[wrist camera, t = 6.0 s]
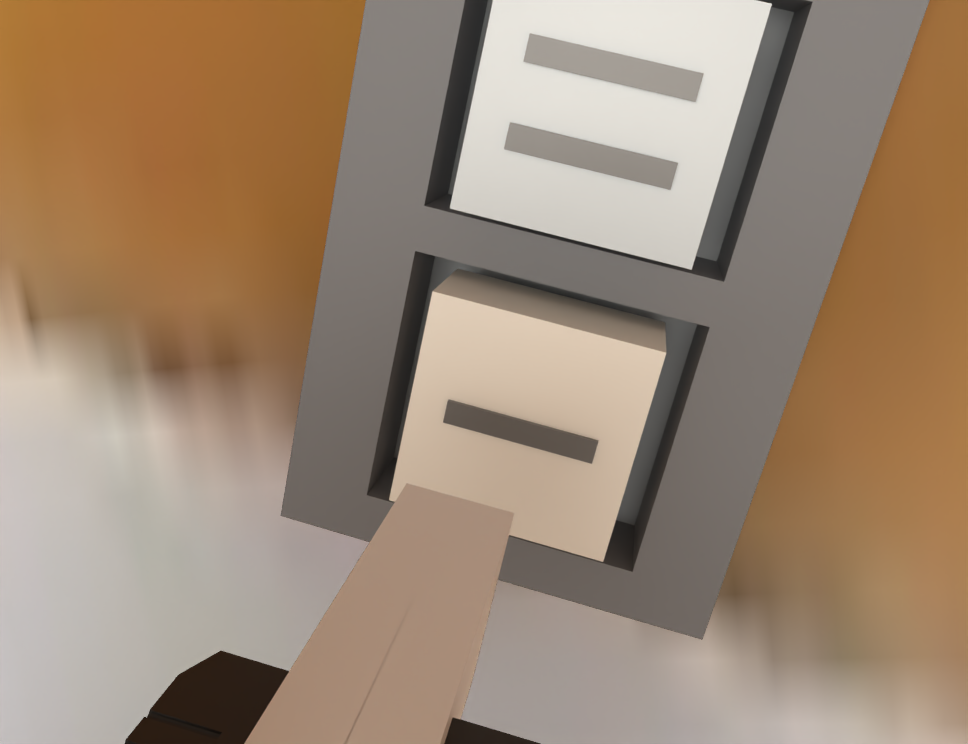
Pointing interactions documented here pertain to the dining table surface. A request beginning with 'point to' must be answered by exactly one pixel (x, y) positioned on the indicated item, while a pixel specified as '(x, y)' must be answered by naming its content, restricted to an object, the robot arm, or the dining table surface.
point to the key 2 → (608, 118)
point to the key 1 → (530, 407)
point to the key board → (595, 288)
